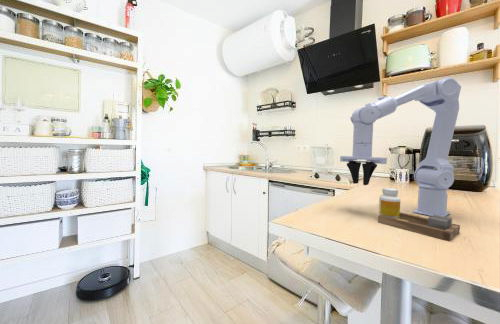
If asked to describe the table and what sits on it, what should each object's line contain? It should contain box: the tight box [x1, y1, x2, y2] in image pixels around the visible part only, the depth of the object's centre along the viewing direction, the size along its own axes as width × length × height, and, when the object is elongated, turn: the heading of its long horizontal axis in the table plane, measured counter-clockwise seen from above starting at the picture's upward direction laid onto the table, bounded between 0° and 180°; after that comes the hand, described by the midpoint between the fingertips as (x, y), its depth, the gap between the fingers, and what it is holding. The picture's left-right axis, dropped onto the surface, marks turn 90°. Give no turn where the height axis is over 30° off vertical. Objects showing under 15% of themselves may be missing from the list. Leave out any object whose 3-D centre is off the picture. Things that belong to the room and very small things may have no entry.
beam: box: [377, 212, 461, 242], centre depth 60 cm, size 9×16×4 cm, turn 36°
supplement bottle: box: [378, 187, 401, 219], centre depth 66 cm, size 5×5×10 cm
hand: (360, 184), depth 73 cm, fingers open, 3 cm apart
